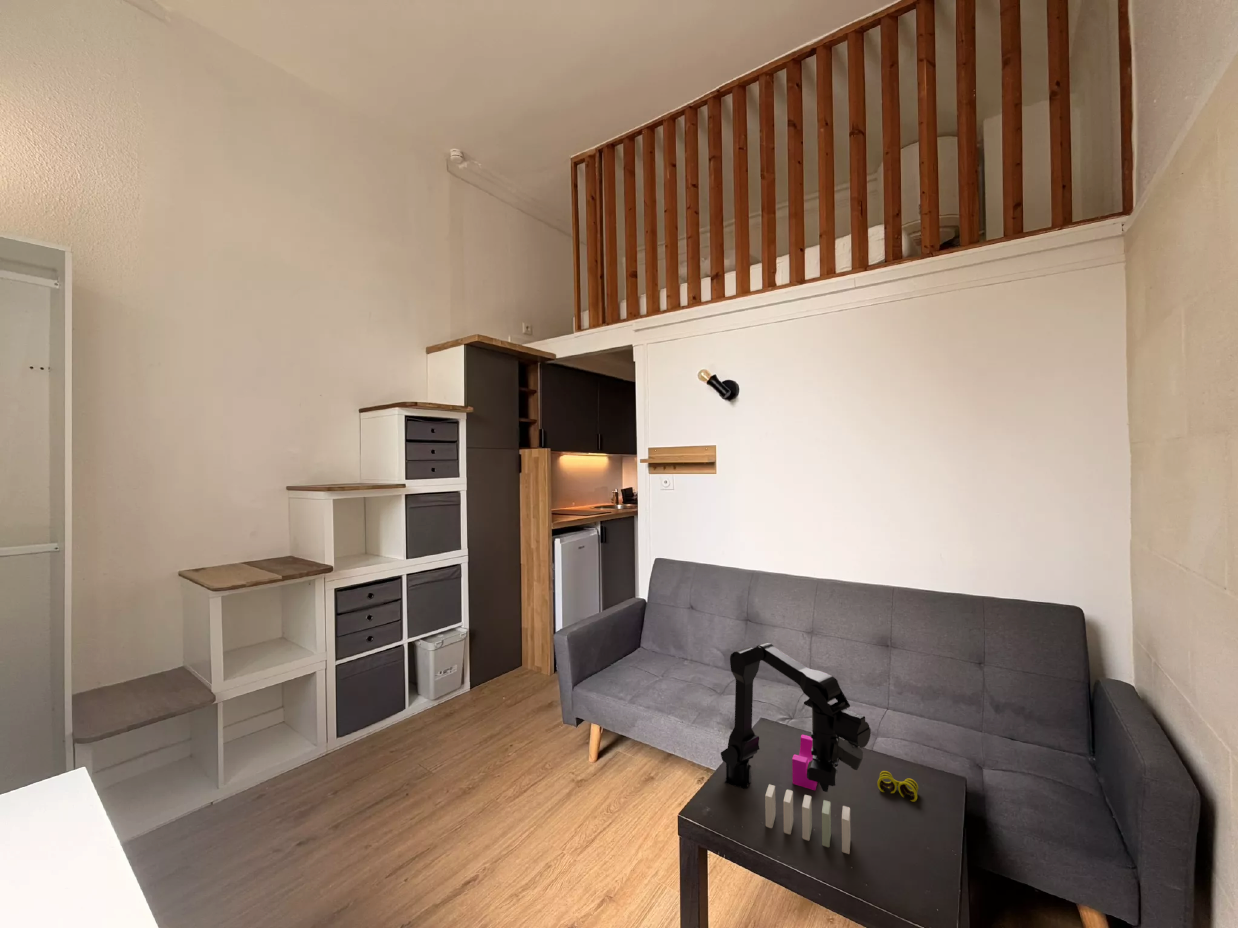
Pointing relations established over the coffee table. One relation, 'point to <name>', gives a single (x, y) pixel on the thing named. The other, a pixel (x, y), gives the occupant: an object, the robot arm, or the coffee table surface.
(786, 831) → the domino
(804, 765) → the toy block
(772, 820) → the domino
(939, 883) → the coffee table surface
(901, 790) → the opera glasses
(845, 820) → the domino
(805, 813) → the domino
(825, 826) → the pale green domino
